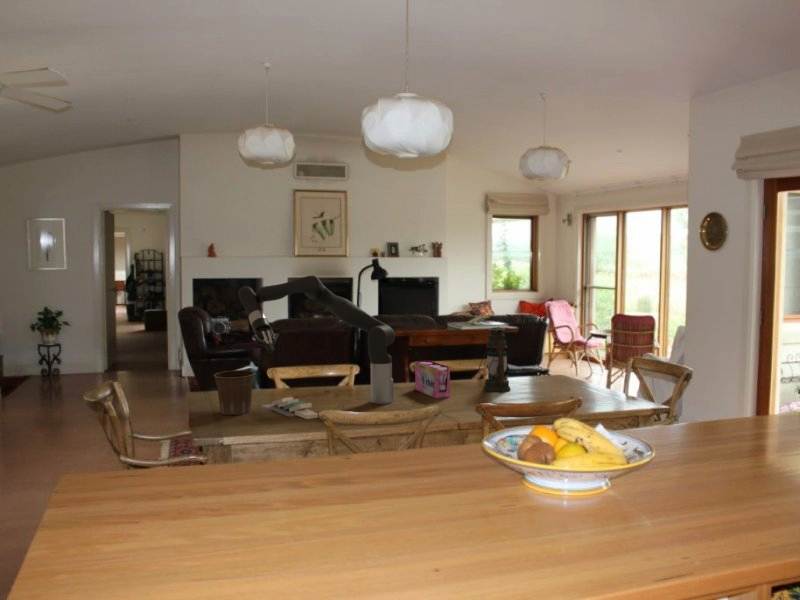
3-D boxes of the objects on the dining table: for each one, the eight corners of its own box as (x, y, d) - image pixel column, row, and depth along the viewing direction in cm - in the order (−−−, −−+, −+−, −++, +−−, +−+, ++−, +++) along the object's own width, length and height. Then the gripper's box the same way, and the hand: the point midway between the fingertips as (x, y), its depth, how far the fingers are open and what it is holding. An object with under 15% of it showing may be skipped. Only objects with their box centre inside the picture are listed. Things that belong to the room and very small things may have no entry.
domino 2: (277, 404, 286) (287, 400, 278) (288, 402, 289) (298, 398, 281) (277, 407, 286) (288, 404, 278) (288, 406, 289) (299, 402, 281)
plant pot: (235, 419, 269) (234, 378, 268) (206, 414, 277) (205, 374, 276) (264, 411, 282) (263, 372, 281) (235, 406, 291) (234, 369, 290)
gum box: (452, 397, 306) (451, 367, 305) (435, 399, 303) (435, 368, 302) (430, 388, 328) (429, 360, 327) (414, 389, 325) (414, 361, 325)
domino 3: (288, 408, 278) (300, 404, 270) (299, 406, 281) (311, 402, 273) (289, 412, 277) (300, 408, 270) (300, 410, 280) (311, 406, 273)
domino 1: (272, 402, 290) (282, 398, 282) (282, 400, 293) (293, 396, 285) (272, 405, 290) (282, 402, 282) (283, 404, 293) (293, 400, 285)
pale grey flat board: (260, 406, 291) (260, 405, 291) (286, 402, 298) (286, 401, 298) (289, 417, 270) (289, 416, 270) (315, 413, 277) (315, 412, 277)
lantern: (515, 393, 313) (516, 328, 311) (485, 394, 311) (485, 329, 310) (504, 385, 332) (504, 324, 330) (475, 386, 331) (475, 324, 329)
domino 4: (294, 410, 274) (306, 415, 266) (305, 408, 277) (318, 413, 269) (294, 414, 274) (306, 419, 266) (305, 412, 277) (318, 417, 269)
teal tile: (283, 406, 282) (293, 402, 274) (294, 404, 285) (304, 400, 277) (283, 410, 282) (294, 406, 274) (294, 408, 285) (305, 404, 277)
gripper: (270, 327, 316) (283, 356, 306) (243, 329, 308) (255, 358, 299) (275, 316, 311) (288, 345, 302) (247, 317, 303) (260, 347, 294)
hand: (271, 351), depth 300 cm, fingers closed
